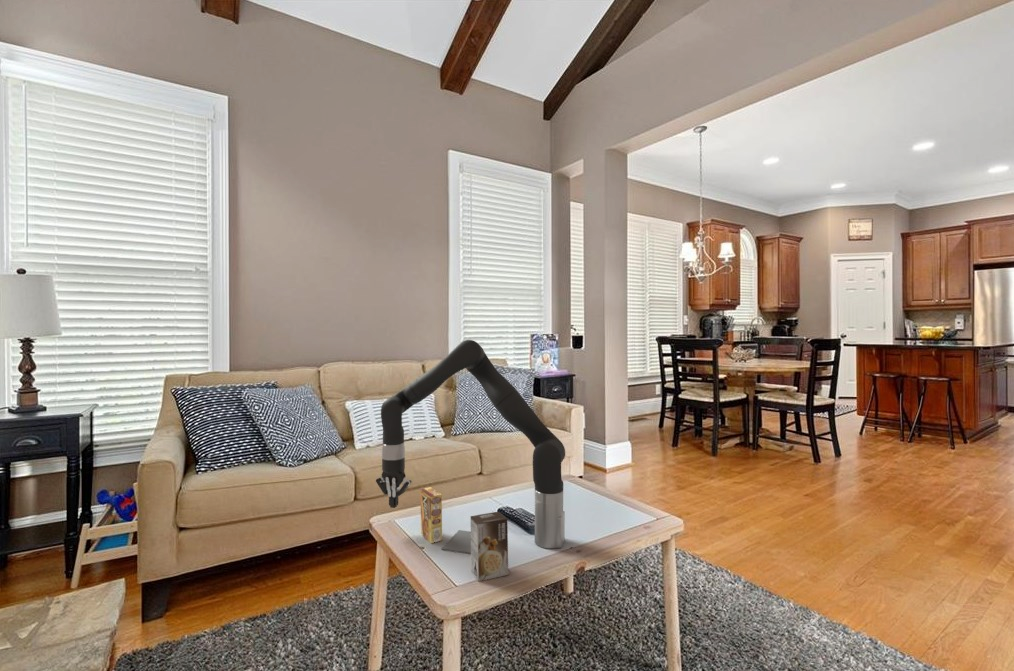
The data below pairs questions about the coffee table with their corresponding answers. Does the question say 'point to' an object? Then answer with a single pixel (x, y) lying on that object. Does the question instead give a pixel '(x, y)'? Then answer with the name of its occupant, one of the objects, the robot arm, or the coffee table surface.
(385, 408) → the robot arm
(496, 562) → the coffee box
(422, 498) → the candy box
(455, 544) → the mat
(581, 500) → the coffee table surface
